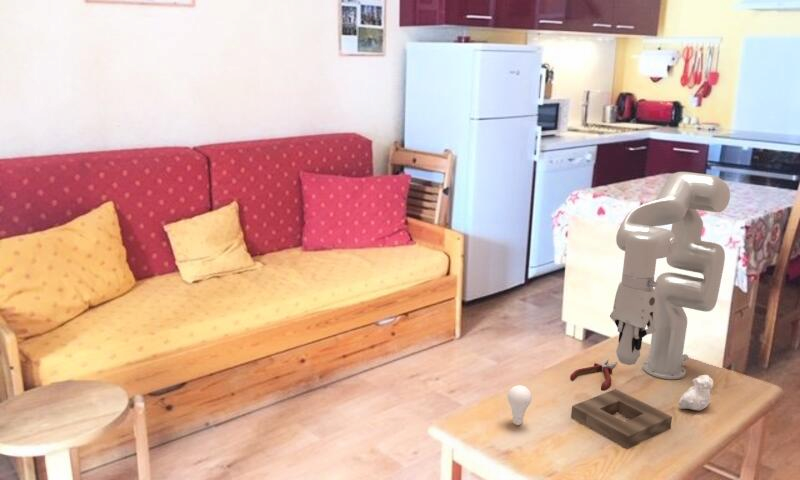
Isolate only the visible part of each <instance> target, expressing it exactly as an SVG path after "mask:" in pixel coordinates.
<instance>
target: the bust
mask: <svg viewBox="0 0 800 480" xmlns="http://www.w3.org/2000/svg"><path fill="white" fill-rule="evenodd" d="M692 383H693V384H694V385H693V386H691V387H689V388H688V389H687V390H686V391H685V392H684V393H683V394H682V395H681V396H680V398H679V401H678V406H679V408H680V409H682V410H692V411H698V412H700V411H702V410H704V409H705V408H707V407H708V406H709V403H710V401H711V390H712V388H713V387H714V379H712V378H711V377H710V376H709V375H708V374H703V375H701V374H700V375H698V377H695V378H693V379H692Z"/></svg>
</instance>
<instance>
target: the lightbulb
mask: <svg viewBox="0 0 800 480" xmlns="http://www.w3.org/2000/svg"><path fill="white" fill-rule="evenodd" d="M531 393H532V392H531V391H530V390H529V389H528V388H527V387H526V386H525V385H519V384H518V385H514V386H513V387H511V388H510V389H509V391H508V393H507V401H508V403H509V406H510V408H511V416H512V422H513V423H512V424H514V425H515V426H520V425H522V424H523V421H524V417H525V413H526V410H527V409H528V408H529V406H530V405H531V402H532V398H533V397H532V394H531Z"/></svg>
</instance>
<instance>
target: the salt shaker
mask: <svg viewBox="0 0 800 480" xmlns="http://www.w3.org/2000/svg"><path fill="white" fill-rule="evenodd" d="M624 323H625V326H624V329H623V332H622V337H621V340H620V342H619V341H618V344H617V346H616V347H617V348H616V352H615V353H616V356H617V359H618V362H620V363H621V364H623V365H626V366H627V365H628V366H631V365H636V363H637V361H638V359H639V358H640V357H641V349H640V350H636V349H635V347H634V350H633V353H632V338H635V337H634V328H635V326H632V325H630V323H629V321H628V320H626V321H625V322H624Z"/></svg>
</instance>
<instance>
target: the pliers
mask: <svg viewBox="0 0 800 480" xmlns="http://www.w3.org/2000/svg"><path fill="white" fill-rule="evenodd" d="M608 362H609V358H608V359H606V360H604V361H603V362H601V364H599V363H597V362H595V363H593V366H592V365H591V366H587V367H583V368H579V369H576V370H574V371H573V372H572V373H571V374H570V376H569V379H570V380H571V382H574V381H575V380H577V378H579V377H581V376H586V375H591V374H597V373H601V372H602V373H603V376H604V381H602V383H601V385H600V390H601V391H606V390H608V388H610V387H611V384H612V377H611V375H613V368H614V367H615V366H616V365H617V364H618V362H617V361H615V362H610V363H608Z"/></svg>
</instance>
